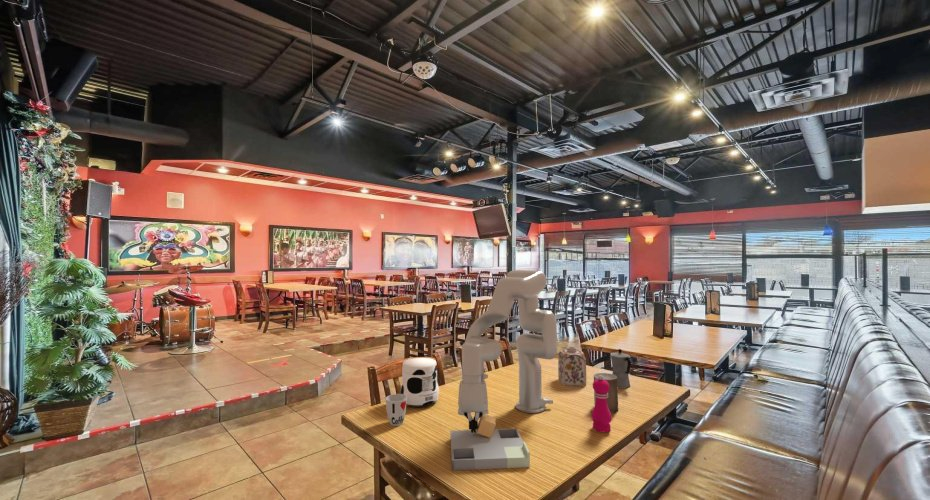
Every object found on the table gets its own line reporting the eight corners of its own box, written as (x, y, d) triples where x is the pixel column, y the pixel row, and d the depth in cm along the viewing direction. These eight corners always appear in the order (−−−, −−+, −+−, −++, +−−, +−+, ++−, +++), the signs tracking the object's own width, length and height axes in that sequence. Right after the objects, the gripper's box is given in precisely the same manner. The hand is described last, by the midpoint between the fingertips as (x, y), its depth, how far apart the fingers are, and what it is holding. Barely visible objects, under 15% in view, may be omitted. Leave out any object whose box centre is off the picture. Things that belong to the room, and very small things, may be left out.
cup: (389, 429, 145) (389, 402, 145) (383, 421, 152) (383, 396, 152) (409, 424, 149) (409, 399, 149) (403, 417, 156) (402, 392, 156)
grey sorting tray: (517, 436, 138) (516, 424, 138) (529, 467, 118) (529, 452, 118) (450, 439, 137) (450, 426, 137) (452, 470, 117) (452, 455, 117)
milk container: (410, 393, 183) (410, 356, 183) (444, 397, 178) (444, 358, 178) (393, 407, 166) (393, 366, 166) (430, 412, 161) (430, 369, 161)
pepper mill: (609, 434, 139) (608, 379, 140) (589, 430, 143) (588, 376, 143) (613, 427, 145) (612, 374, 146) (594, 423, 149) (593, 371, 150)
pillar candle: (621, 407, 164) (620, 372, 164) (612, 414, 157) (611, 377, 157) (599, 402, 171) (599, 368, 171) (590, 408, 163) (589, 373, 164)
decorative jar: (586, 386, 191) (586, 350, 192) (563, 386, 192) (563, 350, 192) (580, 378, 203) (579, 344, 204) (558, 378, 204) (557, 344, 204)
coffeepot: (605, 381, 199) (604, 346, 199) (621, 380, 200) (621, 345, 201) (621, 391, 184) (621, 353, 184) (639, 390, 185) (639, 352, 185)
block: (490, 431, 136) (494, 418, 136) (491, 438, 131) (495, 424, 131) (477, 426, 136) (481, 413, 136) (477, 433, 131) (481, 419, 131)
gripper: (492, 374, 138) (493, 425, 138) (451, 375, 137) (451, 426, 137) (495, 381, 131) (495, 435, 130) (451, 382, 130) (452, 436, 129)
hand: (473, 430), depth 134 cm, fingers closed
